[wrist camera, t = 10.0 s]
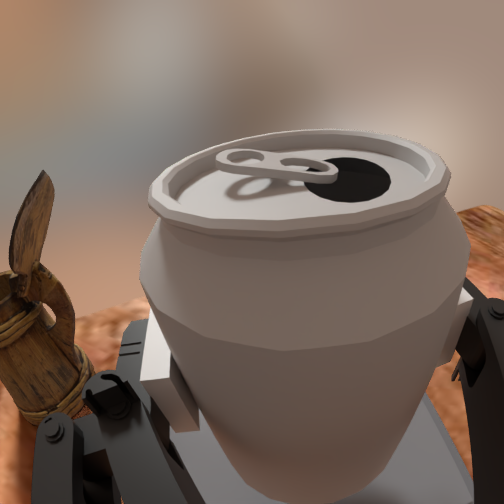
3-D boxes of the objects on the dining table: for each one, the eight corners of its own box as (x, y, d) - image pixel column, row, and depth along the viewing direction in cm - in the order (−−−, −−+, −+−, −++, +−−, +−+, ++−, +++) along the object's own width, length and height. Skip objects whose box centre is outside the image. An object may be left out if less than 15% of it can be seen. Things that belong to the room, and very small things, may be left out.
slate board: (169, 586, 9) (159, 586, 9) (164, 409, 21) (157, 397, 21) (472, 509, 10) (484, 502, 9) (395, 359, 22) (398, 345, 21)
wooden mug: (139, 423, 20) (10, 194, 11) (11, 426, 19) (-110, 256, 10) (143, 342, 28) (70, 151, 19) (32, 358, 27) (-50, 204, 18)
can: (394, 508, 8) (570, 233, 2) (210, 497, 10) (29, 246, 4) (390, 369, 15) (420, 118, 8) (247, 367, 16) (193, 132, 10)
